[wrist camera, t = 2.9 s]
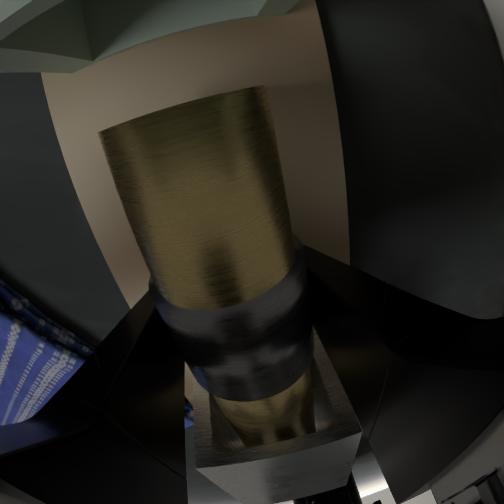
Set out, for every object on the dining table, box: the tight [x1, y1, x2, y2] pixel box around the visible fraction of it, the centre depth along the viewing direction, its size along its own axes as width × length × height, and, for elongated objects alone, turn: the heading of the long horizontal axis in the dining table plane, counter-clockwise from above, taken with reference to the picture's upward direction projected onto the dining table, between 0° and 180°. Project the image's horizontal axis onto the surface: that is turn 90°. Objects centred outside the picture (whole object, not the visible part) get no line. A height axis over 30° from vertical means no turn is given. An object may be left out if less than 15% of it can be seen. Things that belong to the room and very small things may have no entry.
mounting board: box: [41, 0, 350, 429], centre depth 10 cm, size 28×8×1 cm, turn 12°
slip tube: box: [98, 85, 316, 448], centre depth 9 cm, size 16×4×4 cm, turn 12°
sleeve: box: [193, 327, 362, 504], centre depth 12 cm, size 8×5×5 cm, turn 12°
